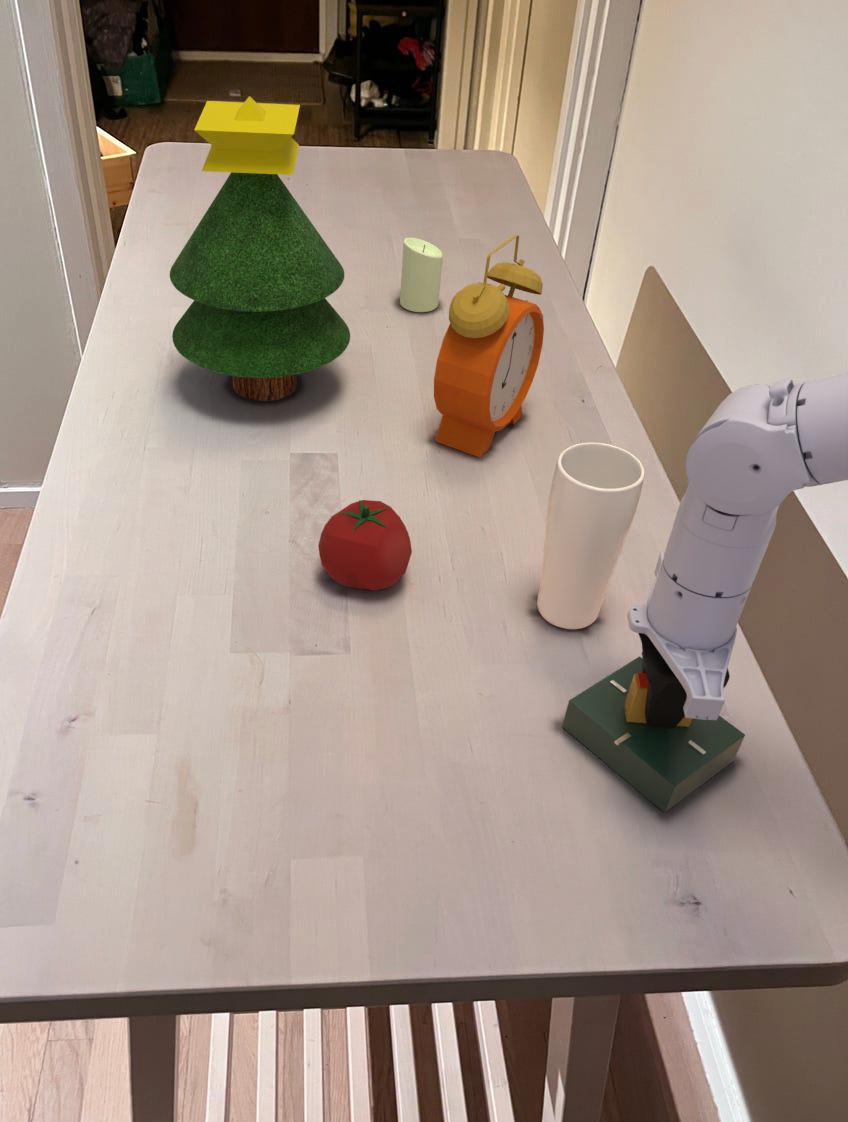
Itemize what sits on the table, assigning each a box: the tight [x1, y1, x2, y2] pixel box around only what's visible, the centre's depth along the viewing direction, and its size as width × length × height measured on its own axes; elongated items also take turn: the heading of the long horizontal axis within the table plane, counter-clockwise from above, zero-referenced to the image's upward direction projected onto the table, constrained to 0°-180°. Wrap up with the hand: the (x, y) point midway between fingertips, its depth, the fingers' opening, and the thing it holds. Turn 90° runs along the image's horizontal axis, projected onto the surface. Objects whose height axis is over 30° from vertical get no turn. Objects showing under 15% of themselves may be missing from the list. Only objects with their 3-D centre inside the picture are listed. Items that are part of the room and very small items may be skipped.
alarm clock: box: [433, 234, 545, 458], centre depth 100 cm, size 13×6×20 cm, turn 148°
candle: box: [399, 237, 444, 313], centre depth 126 cm, size 5×5×8 cm
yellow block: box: [624, 673, 692, 727], centre depth 72 cm, size 5×2×4 cm, turn 85°
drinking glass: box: [536, 442, 646, 630], centre depth 81 cm, size 7×7×15 cm
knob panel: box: [561, 656, 746, 813], centre depth 74 cm, size 10×9×3 cm
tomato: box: [317, 499, 413, 591], centre depth 86 cm, size 8×8×7 cm
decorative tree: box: [169, 95, 351, 402], centre depth 102 cm, size 19×19×30 cm
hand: (657, 712), depth 73 cm, fingers closed on yellow block, 2 cm apart
